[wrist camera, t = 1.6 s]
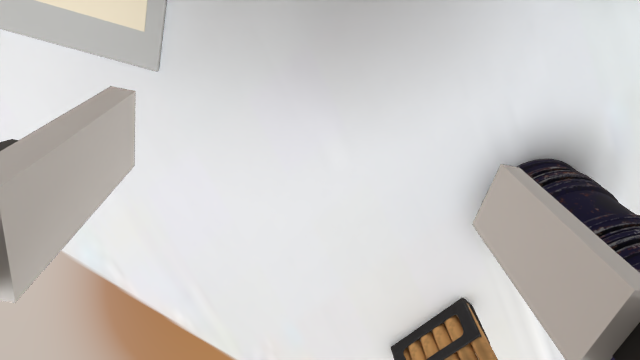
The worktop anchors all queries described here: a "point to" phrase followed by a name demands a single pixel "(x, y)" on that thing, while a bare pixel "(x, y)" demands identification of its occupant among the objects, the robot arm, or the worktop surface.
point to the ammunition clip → (447, 337)
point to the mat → (93, 26)
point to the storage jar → (590, 206)
